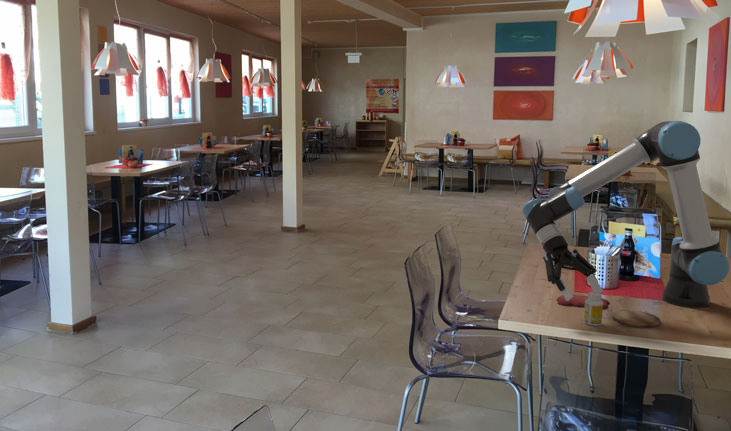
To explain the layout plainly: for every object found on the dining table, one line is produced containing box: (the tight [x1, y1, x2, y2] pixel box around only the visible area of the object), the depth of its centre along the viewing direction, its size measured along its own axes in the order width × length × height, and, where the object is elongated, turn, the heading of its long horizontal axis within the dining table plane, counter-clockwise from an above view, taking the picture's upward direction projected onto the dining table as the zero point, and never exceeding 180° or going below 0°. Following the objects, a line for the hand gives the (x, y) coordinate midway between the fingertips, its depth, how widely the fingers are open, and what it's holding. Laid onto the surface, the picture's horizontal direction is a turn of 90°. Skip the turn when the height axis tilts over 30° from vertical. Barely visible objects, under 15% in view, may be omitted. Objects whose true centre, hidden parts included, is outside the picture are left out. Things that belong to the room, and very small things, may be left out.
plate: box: [611, 309, 661, 329], centre depth 197 cm, size 14×14×1 cm
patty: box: [556, 293, 610, 310], centre depth 216 cm, size 18×14×2 cm
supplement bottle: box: [583, 291, 604, 327], centre depth 193 cm, size 5×5×10 cm
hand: (585, 296), depth 195 cm, fingers open, 13 cm apart
